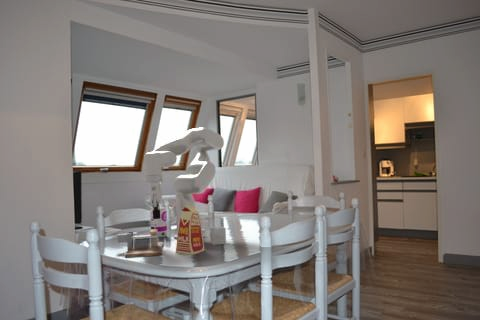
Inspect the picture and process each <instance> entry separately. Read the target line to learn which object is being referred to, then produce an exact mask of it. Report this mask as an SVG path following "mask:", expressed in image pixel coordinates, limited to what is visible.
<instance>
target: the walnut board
mask: <svg viewBox="0 0 480 320" xmlns="http://www.w3.org/2000/svg"><path fill="white" fill-rule="evenodd" d="M163 247H164V241H158V246H151V242H150V247H149V249H142V250H134V243H133V248H132V250H128V249H127V250H126V252H125V254H124V258H137V257H138V258H139V257H152V256H162V253H163Z"/></svg>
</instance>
